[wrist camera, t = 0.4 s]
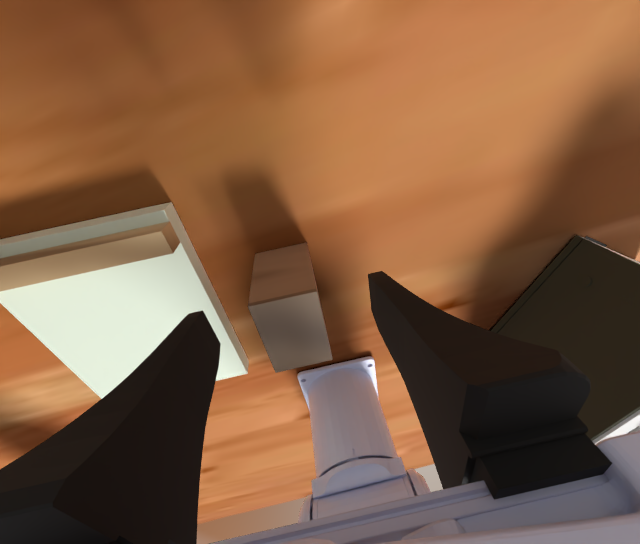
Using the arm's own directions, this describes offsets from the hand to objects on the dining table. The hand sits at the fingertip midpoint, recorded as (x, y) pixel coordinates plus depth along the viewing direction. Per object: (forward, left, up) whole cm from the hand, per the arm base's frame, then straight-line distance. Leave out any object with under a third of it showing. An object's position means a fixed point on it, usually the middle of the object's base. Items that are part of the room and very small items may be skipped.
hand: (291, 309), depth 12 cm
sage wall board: (-5, +13, -10) cm, 17 cm away
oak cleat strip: (+2, +13, -8) cm, 16 cm away
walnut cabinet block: (-5, +1, -10) cm, 11 cm away
